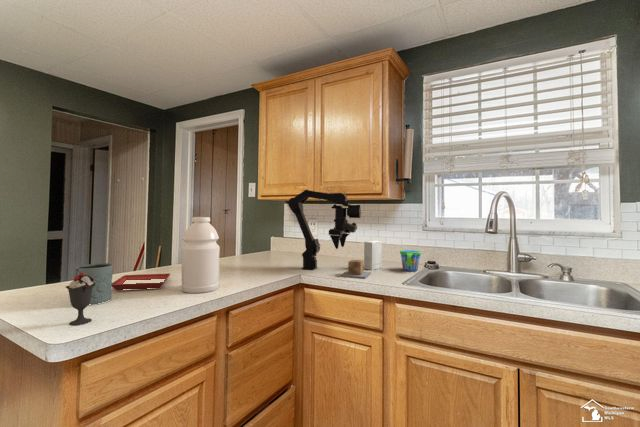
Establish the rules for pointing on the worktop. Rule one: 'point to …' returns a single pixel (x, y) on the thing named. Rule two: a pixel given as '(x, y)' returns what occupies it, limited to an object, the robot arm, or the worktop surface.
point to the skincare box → (372, 255)
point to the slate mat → (355, 275)
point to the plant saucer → (120, 286)
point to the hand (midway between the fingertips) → (339, 247)
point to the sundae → (80, 296)
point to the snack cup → (410, 259)
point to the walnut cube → (356, 267)
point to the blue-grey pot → (99, 280)
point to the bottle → (200, 257)
